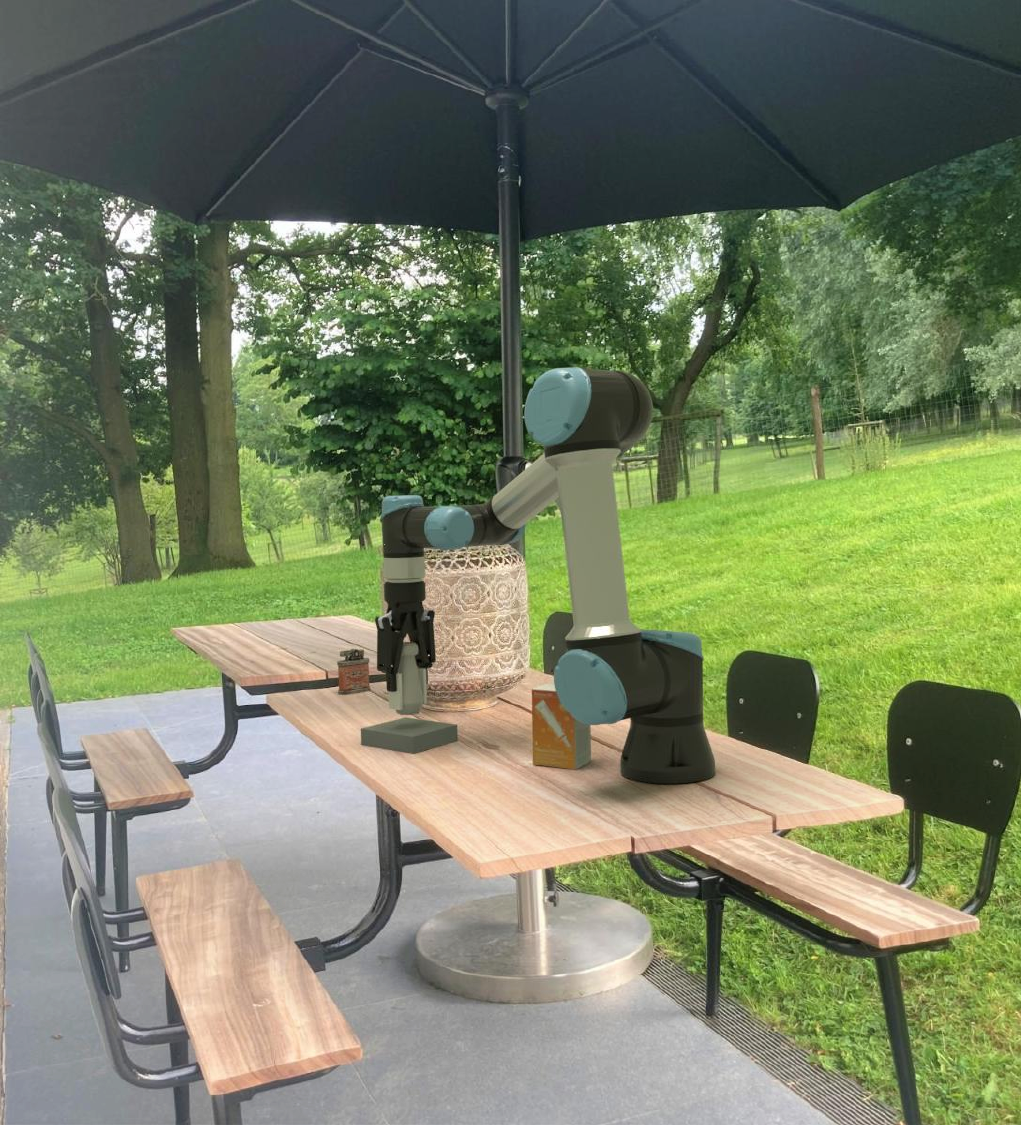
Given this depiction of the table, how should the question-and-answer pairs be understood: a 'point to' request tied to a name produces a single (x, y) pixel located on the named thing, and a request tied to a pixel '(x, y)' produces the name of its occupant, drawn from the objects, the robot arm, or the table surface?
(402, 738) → the block
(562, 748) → the small box
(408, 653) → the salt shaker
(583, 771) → the table surface
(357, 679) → the lighter
